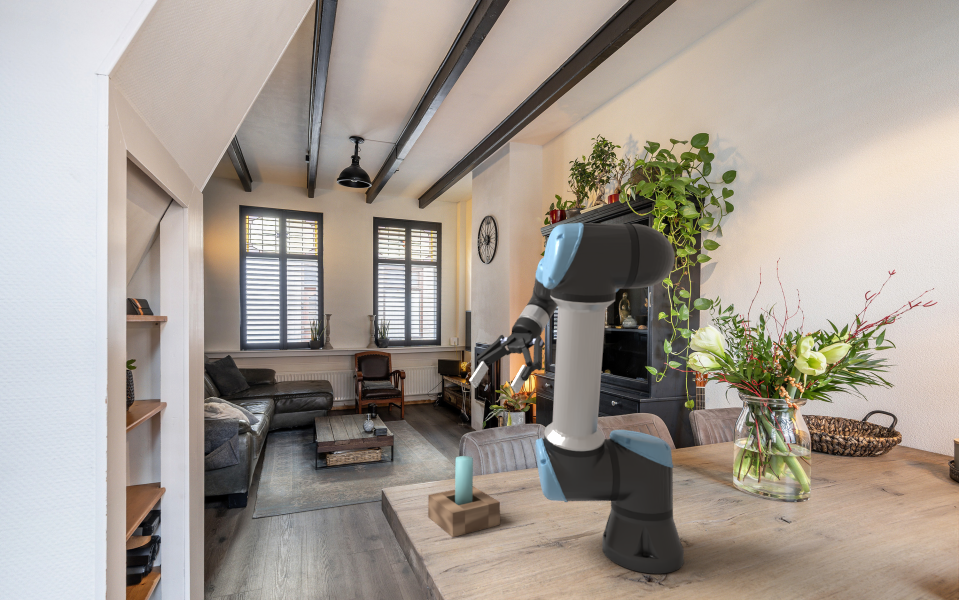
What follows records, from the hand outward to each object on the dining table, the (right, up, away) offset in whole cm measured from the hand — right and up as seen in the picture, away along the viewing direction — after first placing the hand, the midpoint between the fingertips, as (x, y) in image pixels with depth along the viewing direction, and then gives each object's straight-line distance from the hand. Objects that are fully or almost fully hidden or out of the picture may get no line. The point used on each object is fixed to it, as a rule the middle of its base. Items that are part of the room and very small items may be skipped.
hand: (492, 386), depth 113 cm
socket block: (-7, -29, -7) cm, 31 cm away
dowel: (-7, -29, -7) cm, 31 cm away
